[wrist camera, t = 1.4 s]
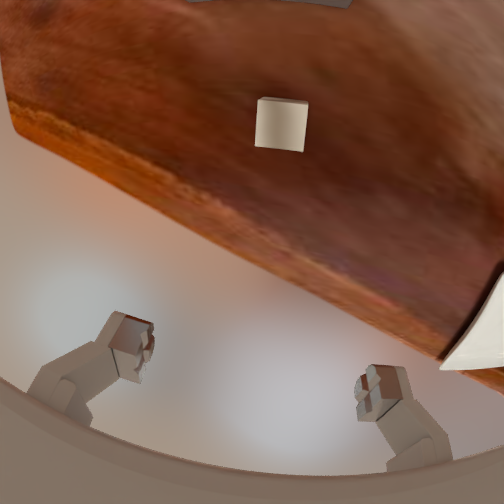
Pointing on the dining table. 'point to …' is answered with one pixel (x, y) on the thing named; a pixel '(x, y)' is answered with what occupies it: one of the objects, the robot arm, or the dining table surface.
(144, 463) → the robot arm
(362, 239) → the dining table surface
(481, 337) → the square plate
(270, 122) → the cream cube
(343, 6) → the pedestal
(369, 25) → the dining table surface
